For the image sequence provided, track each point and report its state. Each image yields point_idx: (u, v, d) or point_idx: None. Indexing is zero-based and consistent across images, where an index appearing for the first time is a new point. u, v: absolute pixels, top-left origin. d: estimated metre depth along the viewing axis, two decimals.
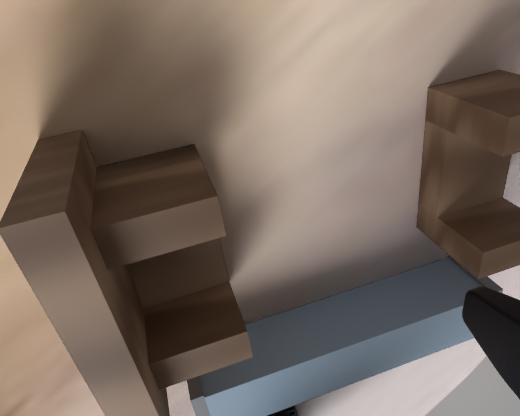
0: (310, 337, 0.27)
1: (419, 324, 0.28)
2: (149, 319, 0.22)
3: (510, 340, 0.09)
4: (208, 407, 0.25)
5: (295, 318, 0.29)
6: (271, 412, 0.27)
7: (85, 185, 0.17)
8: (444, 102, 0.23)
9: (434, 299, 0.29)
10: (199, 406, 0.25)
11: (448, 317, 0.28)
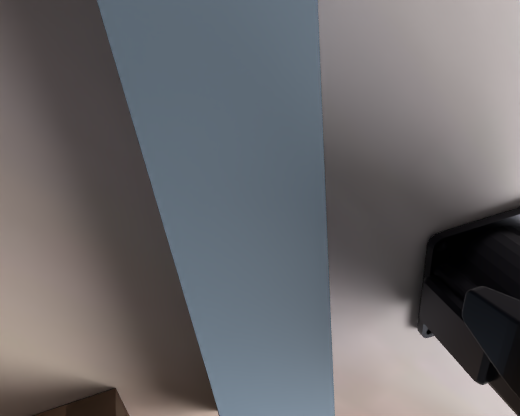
0: None
1: (161, 157, 0.09)
2: None
3: (510, 340, 0.09)
4: None
5: None
6: (330, 407, 0.15)
7: None
8: None
9: None
10: None
11: (149, 37, 0.07)
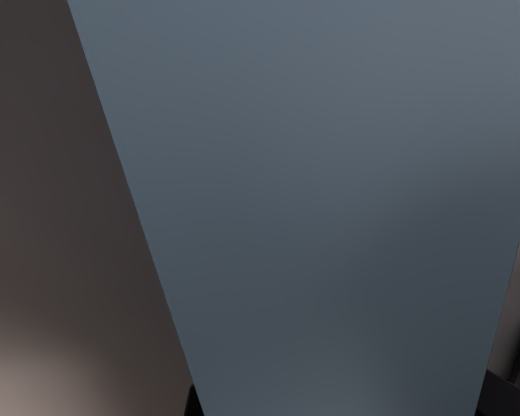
0: None
1: (221, 352, 0.04)
2: None
3: None
4: None
5: None
6: None
7: None
8: None
9: None
10: None
11: (213, 135, 0.03)
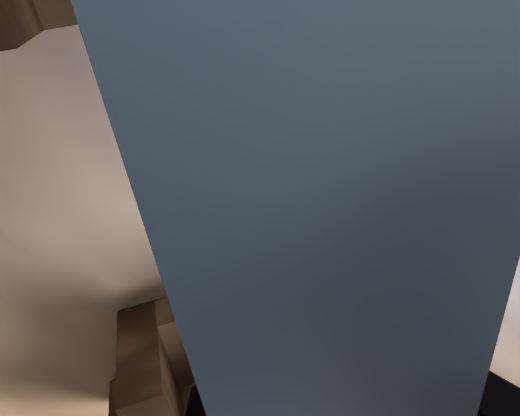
0: None
1: (223, 351, 0.04)
2: None
3: None
4: None
5: None
6: None
7: None
8: None
9: None
10: None
11: (216, 131, 0.03)
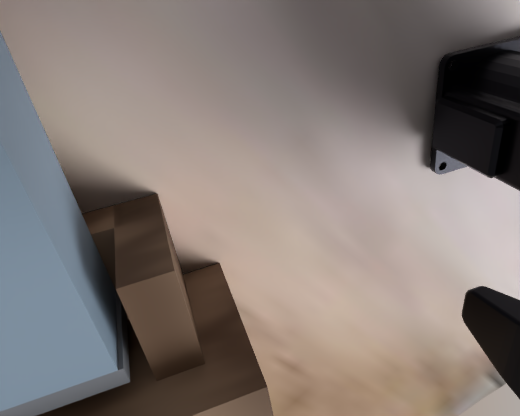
0: None
1: None
2: None
3: (510, 340, 0.09)
4: (30, 399, 0.14)
5: None
6: (73, 295, 0.13)
7: None
8: None
9: None
10: (22, 413, 0.14)
11: None
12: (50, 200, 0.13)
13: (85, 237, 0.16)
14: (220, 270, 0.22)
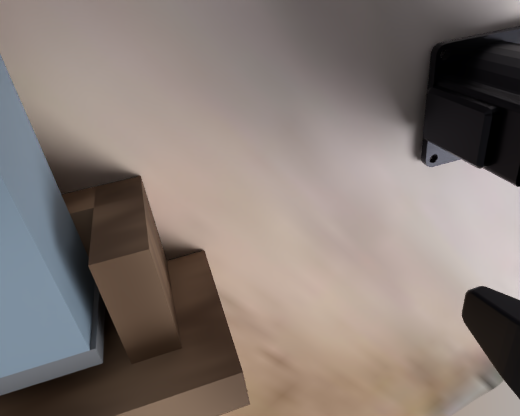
0: None
1: None
2: None
3: (510, 340, 0.09)
4: None
5: None
6: (42, 269, 0.12)
7: None
8: None
9: None
10: None
11: None
12: (21, 171, 0.12)
13: (62, 215, 0.16)
14: (204, 257, 0.21)
